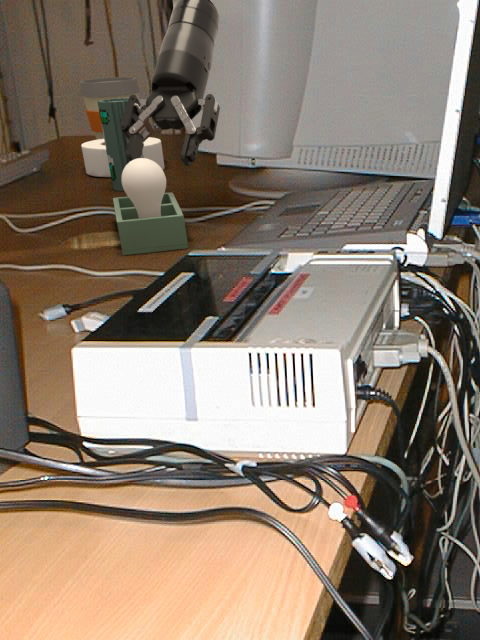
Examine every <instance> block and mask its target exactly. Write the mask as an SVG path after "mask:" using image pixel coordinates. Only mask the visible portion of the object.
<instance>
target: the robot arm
mask: <svg viewBox="0 0 480 640" xmlns="http://www.w3.org/2000/svg"><path fill="white" fill-rule="evenodd" d="M172 6H173V9H172V11H171V15H170V18H169V23H168V27H167V30H166V33H165V35H164V36H163V39H162V42H161V45H160V48H159V53H158V57H157V60H156V64H155V67H154V72H153V76H152V79H151V92H150V94H149V95H148V96H147V98H139V99H138V98H137V97H136V95H134V94H133V95H131V96H130V97H129V99H128V102H127V105H126V108H125V111H124V114H123V117H122V120H121V123H120V126H119V128H120V129H121V131H122V132H123V133H124V135H125V136H126V137H127V138H128V140H129V141H128V145H127V149H126V156H127V157H128V159H129V160H130V162H131V161H132V160H134V159H137V158H141V154H142V150H143V147H144V143H143V142H144V141H145V140H146V139H148V138H149V137H151V136H155V135H157V134H158V133H159V132H160V131H161V130H162V131H167V130H175V131H178V130H179V131H181V130H182V128H185V129H186V131H187V133H188V134H185V136H184V139H183V143H182V147H181V152H180V155H179V157H180V160H181V162H182V163H183V165H184V166H185V167H190V166H192V165H193V163H194V162H195V161H196V159H197V155H198V151H199V147H200V144H202V143H203V141H205V140H206V141H208V142H211V141H213V140H214V139H215V137H216V132H217V127H218V121H219V115H220V110H221V107H220V105H219V102H217V100H216V98H215V96H214V94H212V93H209V94H206V96H205V92H206V88H207V85H208V80H209V76H210V72H211V69H212V64H213V59H214V51H215V50H214V49H215V46H216V41H217V37H218V34H219V29H220V24H221V23H220V22H221V16H220V12H219V10H218V7H217V6H216V5H215V3H214V2H213V3H212V2H211V1H210V0H172ZM204 97H205V98H204ZM201 111H202V115H201V119H200V123H199V124H200V125H199V126H198V127H197V126H196V123H195V122H194V118H195V117H197V115H198V114H199V113H200V112H201ZM150 119H152V121H153V122H154V123H153V124H151V122H150ZM139 131H140V132H139Z"/></svg>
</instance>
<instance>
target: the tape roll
mask: <svg viewBox="0 0 480 640" xmlns="http://www.w3.org/2000/svg"><path fill="white" fill-rule="evenodd" d="M143 143H144V147H143V150H142V151H143V157H144V158H146V159H150V160H152V161H154V162H155V163H157V164H158V165H159V166H160V167H161V168H162V170H163V171H164V170H165V160H164V153H163V146H162V140H161V139H160V138H157V137H151V136H150V137H149V138H148V139H146V140H145V141H144V142H143ZM80 146H81V152H82V157H83V164H84V168H85V173H86V174H87V175H88V176H90V177H91V176H92V177H98V178H111V174H110V169H109V163H108V158H107V152H106V146H105V141H104V139H98V140H96V139H93V140H89V141H86V142H83V143H81V145H80Z"/></svg>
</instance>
